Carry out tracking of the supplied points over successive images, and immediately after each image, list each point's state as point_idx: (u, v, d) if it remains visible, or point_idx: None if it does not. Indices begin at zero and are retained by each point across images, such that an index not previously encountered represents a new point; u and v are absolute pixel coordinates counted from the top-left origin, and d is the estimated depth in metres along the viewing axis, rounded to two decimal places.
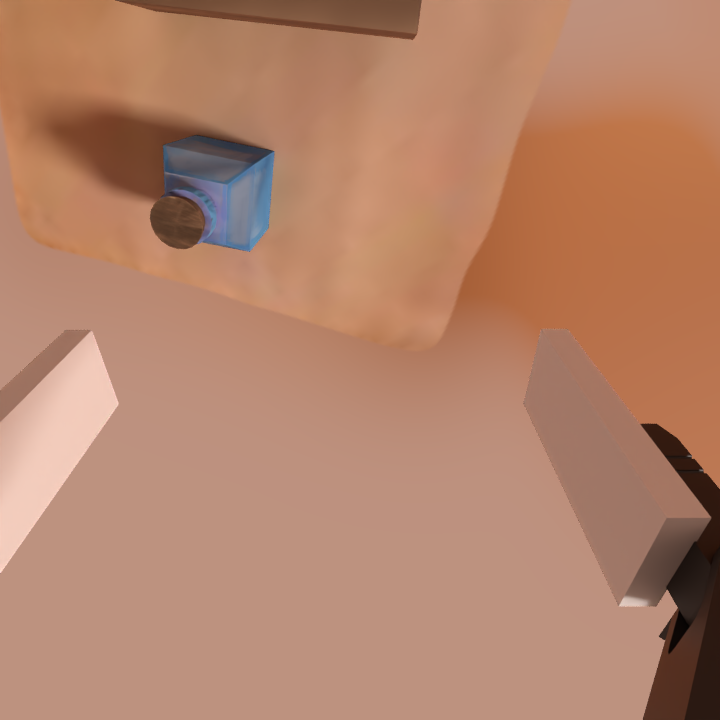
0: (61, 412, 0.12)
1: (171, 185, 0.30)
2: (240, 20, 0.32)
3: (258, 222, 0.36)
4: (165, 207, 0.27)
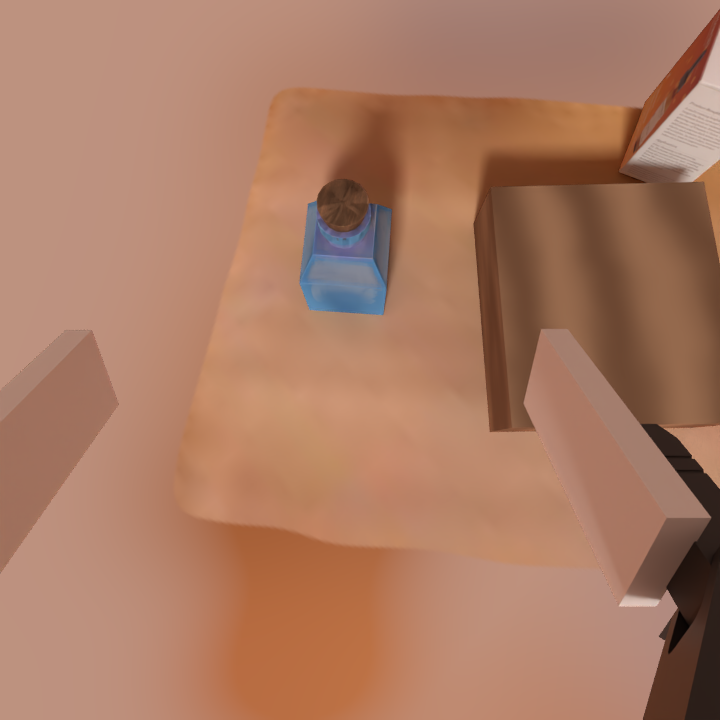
0: (61, 412, 0.12)
1: None
2: None
3: (324, 295, 0.35)
4: (357, 193, 0.28)
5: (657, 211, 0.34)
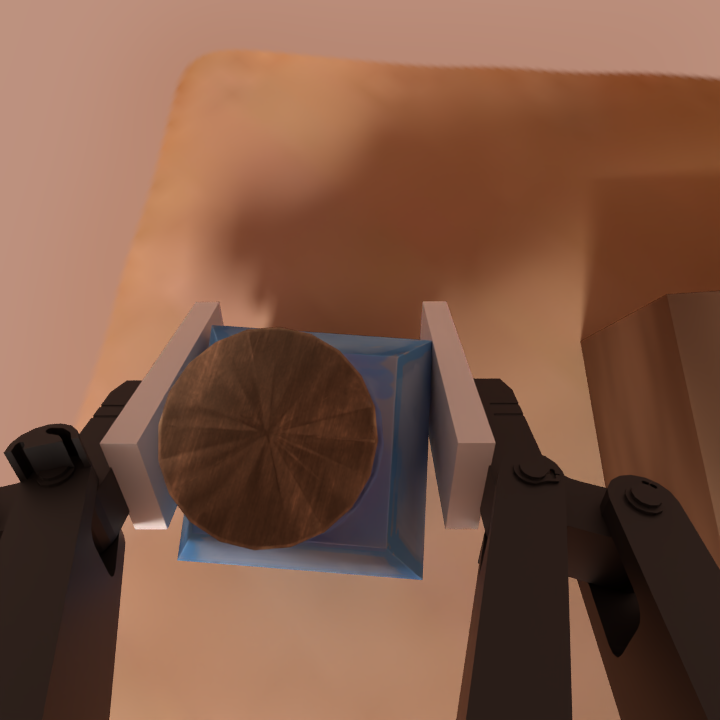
0: None
1: (362, 373, 0.10)
2: None
3: None
4: (330, 394, 0.07)
5: None
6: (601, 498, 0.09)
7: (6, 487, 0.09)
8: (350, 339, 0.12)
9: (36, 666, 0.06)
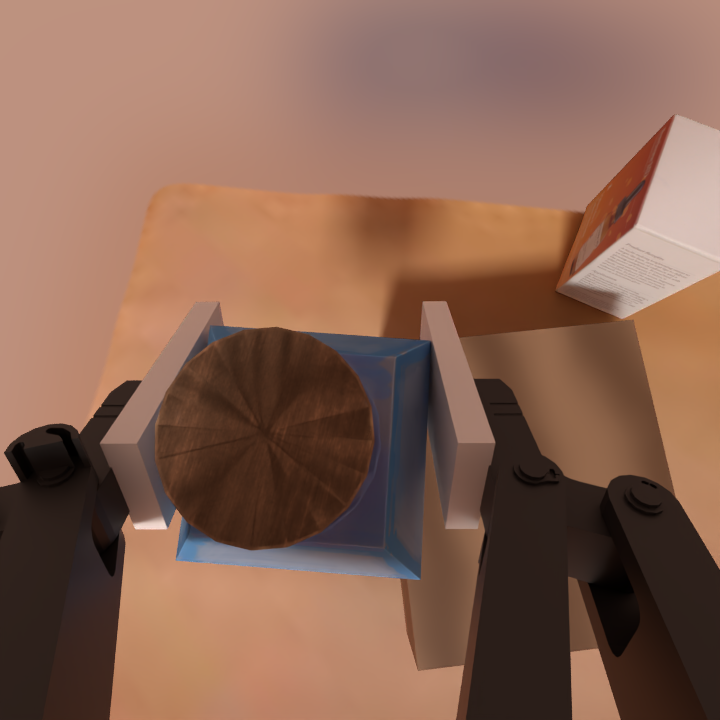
0: None
1: (360, 373, 0.10)
2: None
3: None
4: (326, 394, 0.07)
5: (581, 362, 0.28)
6: (601, 498, 0.09)
7: (6, 487, 0.09)
8: (348, 339, 0.12)
9: (36, 667, 0.06)
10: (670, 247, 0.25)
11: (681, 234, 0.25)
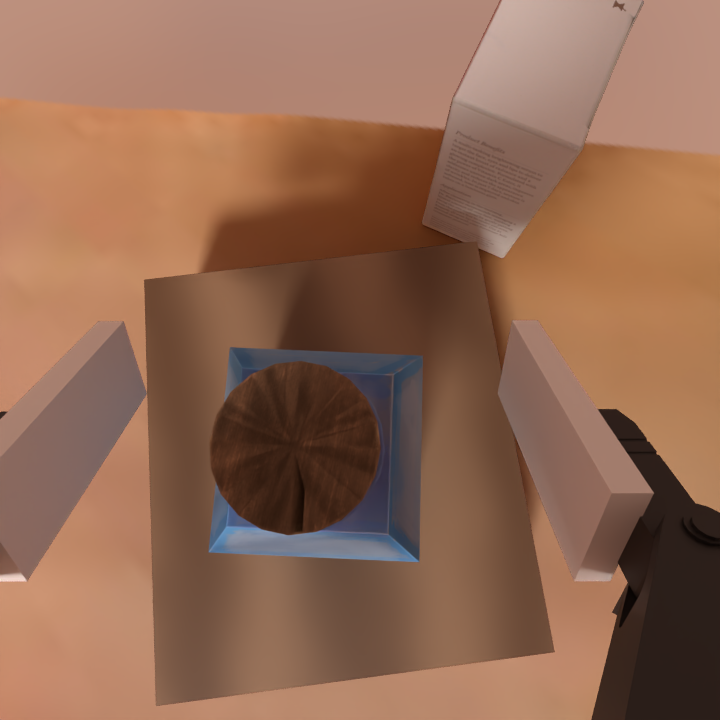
0: (97, 399, 0.12)
1: (364, 389, 0.12)
2: None
3: None
4: (342, 412, 0.09)
5: (405, 296, 0.22)
6: None
7: None
8: (352, 357, 0.14)
9: None
10: (504, 128, 0.19)
11: (515, 109, 0.18)
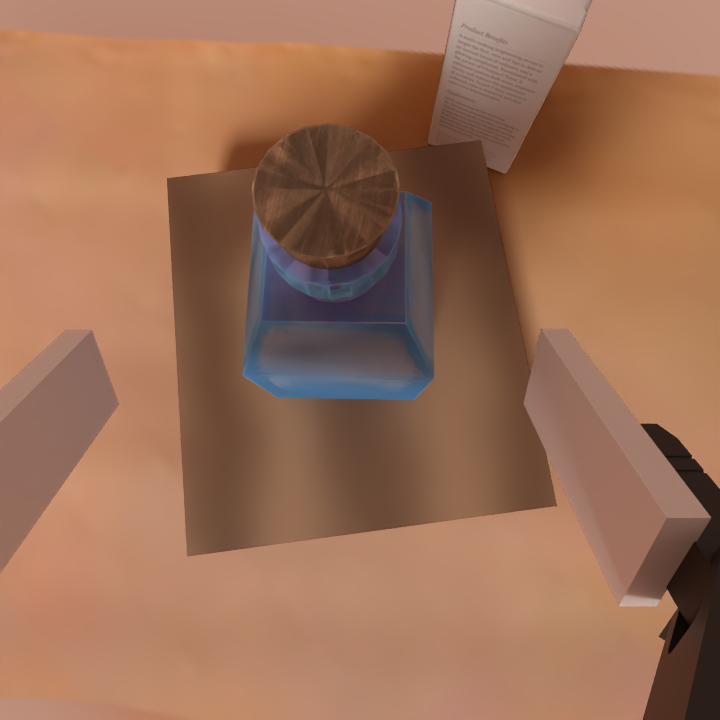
0: (61, 412, 0.12)
1: None
2: None
3: (300, 385, 0.17)
4: (365, 162, 0.10)
5: (413, 190, 0.23)
6: None
7: None
8: None
9: None
10: (507, 14, 0.20)
11: None
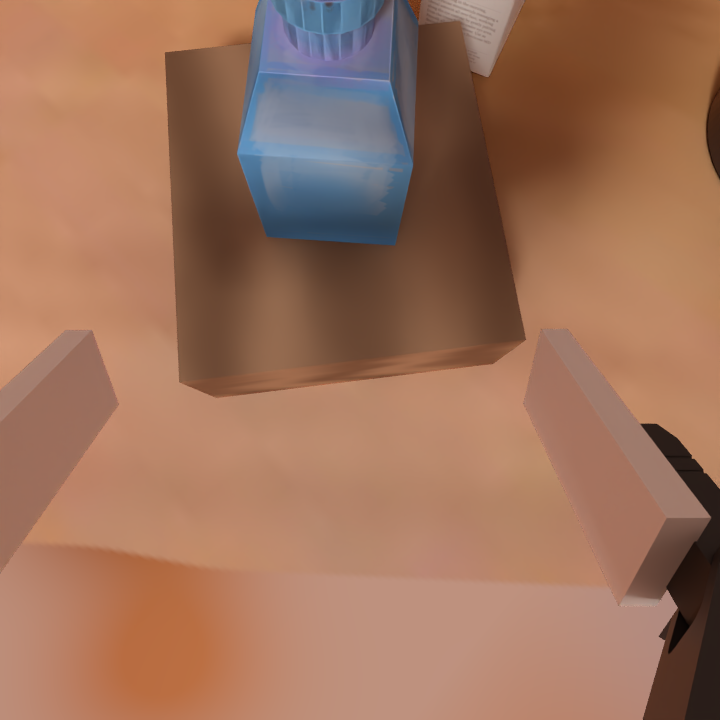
0: (61, 412, 0.12)
1: None
2: None
3: (289, 193, 0.19)
4: None
5: None
6: None
7: None
8: None
9: None
10: None
11: None
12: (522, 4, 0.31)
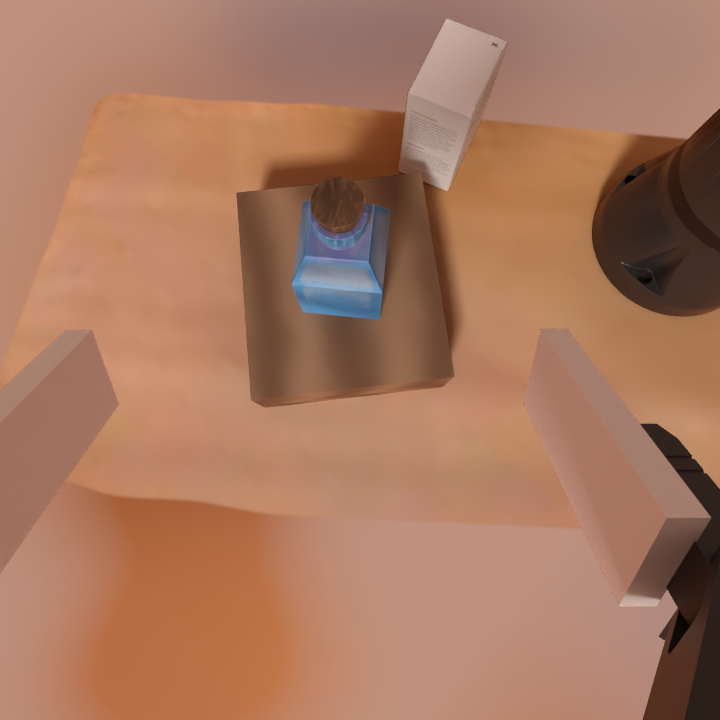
0: (61, 412, 0.12)
1: None
2: None
3: (317, 298, 0.34)
4: (353, 193, 0.26)
5: (380, 201, 0.40)
6: None
7: None
8: None
9: None
10: (434, 108, 0.36)
11: (438, 98, 0.36)
12: (470, 142, 0.46)
